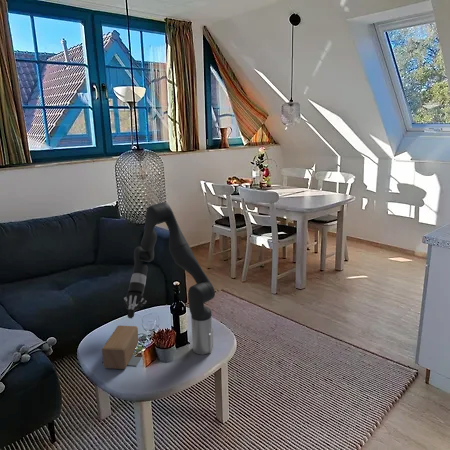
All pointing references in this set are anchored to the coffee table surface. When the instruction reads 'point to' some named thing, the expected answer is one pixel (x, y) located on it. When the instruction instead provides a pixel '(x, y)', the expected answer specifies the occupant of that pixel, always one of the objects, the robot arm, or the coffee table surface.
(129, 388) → the coffee table surface
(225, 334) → the coffee table surface
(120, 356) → the wooden block
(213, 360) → the coffee table surface
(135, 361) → the slate mat
